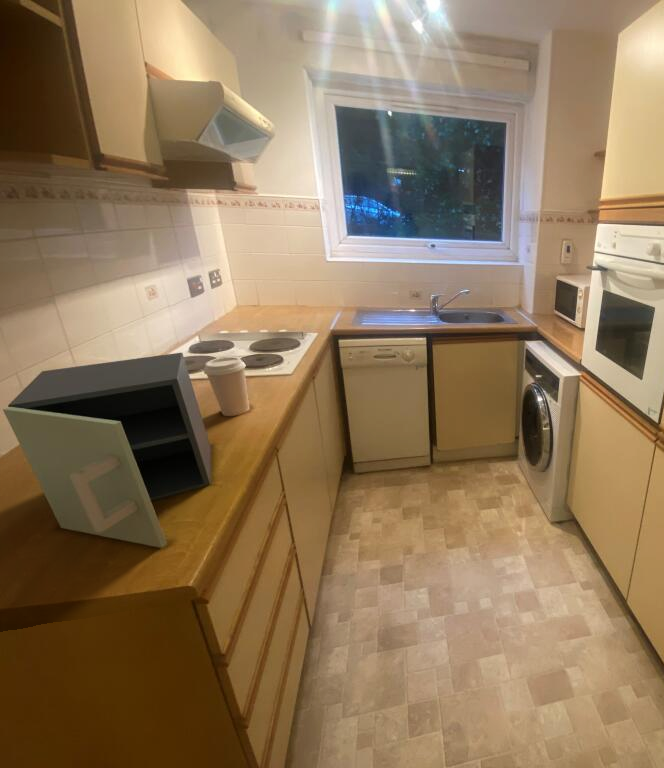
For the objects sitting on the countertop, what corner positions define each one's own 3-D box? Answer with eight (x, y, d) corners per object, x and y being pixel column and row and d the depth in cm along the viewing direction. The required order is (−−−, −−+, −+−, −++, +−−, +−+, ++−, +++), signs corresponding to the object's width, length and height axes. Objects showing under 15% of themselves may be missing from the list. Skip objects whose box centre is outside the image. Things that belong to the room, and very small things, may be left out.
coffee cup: (261, 403, 126) (249, 354, 120) (248, 418, 117) (235, 366, 112) (225, 406, 124) (211, 356, 119) (209, 421, 116) (194, 368, 110)
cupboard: (210, 486, 89) (177, 378, 80) (65, 525, 78) (7, 405, 69) (211, 447, 103) (182, 352, 94) (88, 476, 92) (42, 371, 83)
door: (127, 575, 68) (68, 443, 58) (21, 552, 72) (-49, 426, 63) (167, 545, 74) (120, 421, 65) (67, 525, 78) (10, 406, 69)
